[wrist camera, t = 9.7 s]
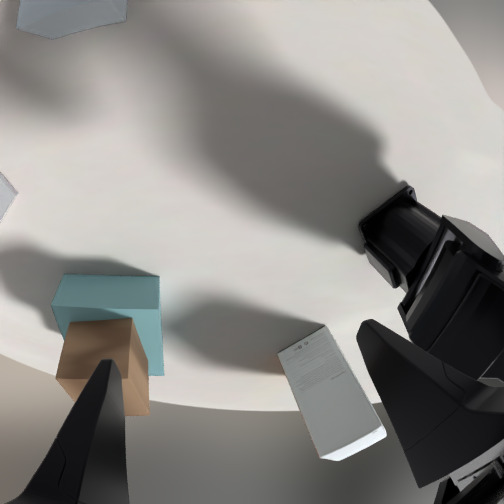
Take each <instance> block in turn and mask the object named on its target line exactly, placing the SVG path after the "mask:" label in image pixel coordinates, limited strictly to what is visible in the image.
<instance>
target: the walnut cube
mask: <svg viewBox="0 0 504 504" xmlns="http://www.w3.org/2000/svg"><path fill="white" fill-rule="evenodd" d="M109 358H111V359H113V360H114V361H115V363H116V365H117V367H118V369H119V371H120V373H121V378H122V391H123V402H124V412H125V416H144V415H150V410H149V378H148V359H147V356H146V354H145V351H144V349H143V346H142V343H141V341H140V338H139V335H138V333H137V330H136V327H135V324H134V321H133V318H124V319H110V320H95V321H78V322H70V323H69V326H68V330H67V333H66V337H65V341H64V344H63V348H62V352H61V356H60V361H59V365H58V369H57V374H56V380H57V381H58V382H59V383H60V385H61V386H62V387H63V388H64V390H65V391H66V392H67V393H68V394H69V395H70V397H71V398H72V399H73V400H74V401H75V402H76V400H77V398H78V397H79V395H80V393H81V392H82V390H83V388H84V386H85V385H86V383H87V381H88V380H89V378H90V377H91V375H92V373H93V372H94V370H95V368H96V367H97V365H98V364H99V362H100V360H102V359H109Z"/></svg>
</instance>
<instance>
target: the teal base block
mask: <svg viewBox="0 0 504 504" xmlns="http://www.w3.org/2000/svg"><path fill="white" fill-rule="evenodd" d="M51 307H52V310H53V313H54V315H55V318H56V321H57V324H58V326H59V329H60V331H61V334H62V337H63V339H64V341H65V337H66V333H67V330H68V326H69V323H70V322H78V321H95V320H110V319H124V318H133V321H134V324H135V327H136V330H137V333H138V335H139V338H140V341H141V343H142V346H143V349H144V351H145V354H146V356H147V359H148V376H164V361H163V340H162V326H161V308H160V280H159V276H111V275H78V274H64V275H63V278H62V280H61V282H60V285H59V287H58V289H57V292H56V294H55V296H54V299H53V301H52V304H51Z"/></svg>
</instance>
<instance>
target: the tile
mask: <svg viewBox="0 0 504 504" xmlns="http://www.w3.org/2000/svg"><path fill="white" fill-rule="evenodd" d="M17 195H18V192H17V191H16V190H15V189H14V188H13V187H12V185H11V184H10V183H9V182H8V181H7V180H6V178H5V177H4V176H3V175H2V174H1V172H0V223H1V221H2V219H3V217H4V216H5V214H6V212H7V211H8V209H9V207H10V206H11V204H12V202H13V201H14V199H15V198H16V196H17Z"/></svg>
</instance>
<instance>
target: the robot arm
mask: <svg viewBox="0 0 504 504" xmlns="http://www.w3.org/2000/svg"><path fill="white" fill-rule="evenodd" d="M365 224H366V225H365ZM364 225H365V226H364ZM358 227H359V230H360V232H361V234H362V237H363V239H364V242H365V244H364V249H365V252H366V254H367V257H368V259H369V261H370V264H371V265H372V266H373V267H374V268H375V269H376V270H377V271H378V272H379V273H380V274H381V275H382V276H383V278H384V279H385V280H386V281H387V282H388V283H389V284H390V285H391V286H392V287H393V288H398V287H399V286H400V287H401V288H402V289H403V290H404V291H405V292H406V295H405V297H404V299H403V301H402V302H400V304H399V306H398V311H399V313H400V315H401V318H402V320H403V322H404V325H405V327H406V329H407V332H408V334H409V339H410V340H411V342H412V343H411V342H410V341H408V340H406V339H405V338H403V337H401V336H400V335H398V334H397V333H395V332H393V331H392V330H390V329H388V328H387V327H385V326H383V325H382V324H380V323H378V322H377V321H375V320H373V319H369V320H365V321H363V322H362V323H361V326H360V328H359V330H358V333H357V336H356V339H357V343H358V345H359V348H360V351H361V354H362V356H363V359H364V362H365V365H366V368H367V370H368V373H369V375H370V377H371V379H372V381H373V383H374V386H375V388H376V390H377V392H378V394H379V396H380V398H381V401H382V403H383V405H384V407H385V409H386V411H387V414H388V416H389V418H390V420H391V423H392V425H393V427H394V429H395V432H396V434H397V436H398V439H399V441H400V443H401V445H402V448H403V450H404V453H405V456H406V458H407V460H408V462H409V465H410V468H411V470H412V473H413V475H414V477H415V480H416V483H417V485H418V487H419V488H422V487H424V486H426V485H428V484H430V483H432V482H435V481H437V480H439V479H440V478H442V477H444V476H446V475H448V474H449V476H448V477H447V478H446V479H444V480H443V481H442V482H440V484H439V488H438V492H437V495H436V498H435V501H434V504H504V387H491V386H488V385H485V384H483V383H481V382H479V381H478V380H479V379H480V378H489V379H498V380H500V381H501V382H503V383H504V255H503V254H502V252H501V251H500V250H499V248H498V247H497V246H496V244H495V243H494V242H493V240H492V239H491V238H490V237H489V235H488V234H486V233H485V232H484V231H482V230H480V229H479V228H477V227H476V226H474V225H473V224H471V223H469V222H467V221H464V220H460V219H457V218H453V217H449V216H446V215H442V218H441V217H440V216H438V215H437V214H435V213H434V212H432V211H431V210H429V209H428V208H426V207H425V206H423V205H422V204H420V203H419V202H417V198H416V194H415V190H414V188H413V187H411V186H406V187H405V188H404V189H403V190H401V191H400V192H399V193H397V194H396V195H395V196H394V197H392V198H391V199H390V200H388V201H387V202H386V203H384V204H383V205H382V206H380V207H379V208H378V209H376V210H375V211H374V212H372V213H371V214H370V215H368V216H367V217H366V218H364V219H363V220H362V221H361V222H360V223H359V226H358ZM125 447H126V446H125V412H124V402H123V391H122V378H121V373H120V371H119V369H118V367H117V365H116V363H115V361H114V360H113V359H111V358H109V359H102V360H100V362H99V364H98V365H97V367H96V368H95V370H94V372H93V373H92V375H91V377H90V378H89V380H88V381H87V383H86V385H85V386H84V388H83V390H82V392H81V393H80V395H79V397H78V398H77V400H76V402H75V404H74V406H73V407H72V409H71V411H70V413H69V414H68V416H67V418H66V420H65V422H64V423H63V425H62V427H61V429H60V431H59V432H58V434H57V438H55V440H54V442H53V444H52V446H51V447H50V449H49V451H48V453H47V455H46V457H45V458H44V460H43V461H42V463H41V465H40V466H39V468H38V469H37V471H36V472H35V474H34V475H33V477H32V479H31V480H30V482H29V483H28V485H27V486H26V488H25V489H24V491H23V492H22V493H21V494H20V495H19V496H18V497H16V498H15V499H13V500H11V501H9V502H7V503H5V504H129V493H128V483H127V468H126V448H125Z"/></svg>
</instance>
